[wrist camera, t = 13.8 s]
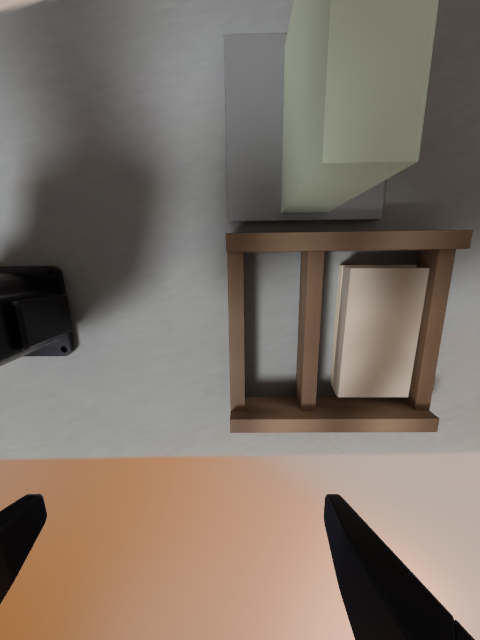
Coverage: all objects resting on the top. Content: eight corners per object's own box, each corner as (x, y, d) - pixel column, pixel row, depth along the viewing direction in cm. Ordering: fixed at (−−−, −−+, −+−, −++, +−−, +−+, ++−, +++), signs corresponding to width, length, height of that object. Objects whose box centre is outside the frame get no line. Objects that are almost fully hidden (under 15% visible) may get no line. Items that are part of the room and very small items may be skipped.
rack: (232, 408, 21) (230, 432, 18) (228, 237, 18) (225, 233, 15) (409, 407, 21) (437, 431, 18) (435, 234, 18) (472, 230, 15)
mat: (228, 222, 18) (227, 220, 17) (224, 43, 15) (223, 34, 15) (377, 220, 18) (381, 218, 17) (395, 39, 15) (400, 30, 15)
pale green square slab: (281, 212, 17) (322, 163, 8) (284, 45, 15) (344, -259, 6) (327, 212, 17) (418, 161, 8) (337, 43, 15) (471, -263, 6)
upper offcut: (332, 389, 20) (338, 397, 19) (343, 267, 18) (350, 268, 17) (398, 389, 20) (408, 397, 19) (417, 267, 18) (429, 268, 17)
